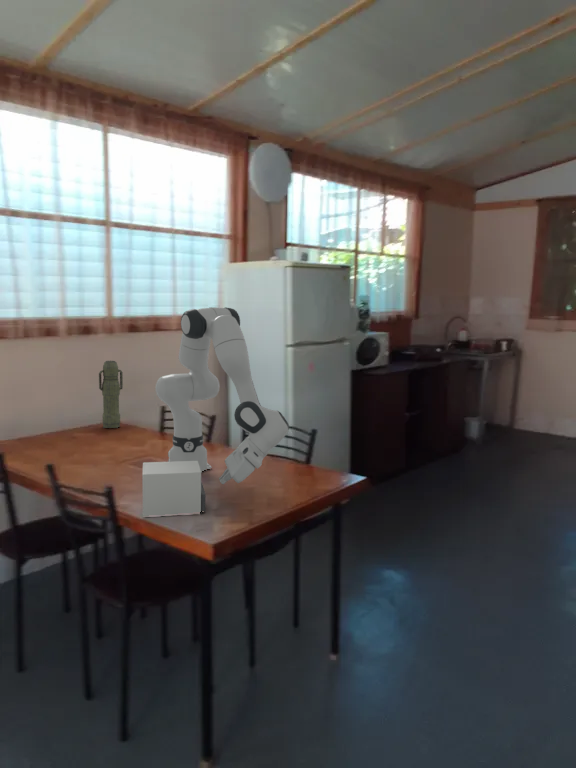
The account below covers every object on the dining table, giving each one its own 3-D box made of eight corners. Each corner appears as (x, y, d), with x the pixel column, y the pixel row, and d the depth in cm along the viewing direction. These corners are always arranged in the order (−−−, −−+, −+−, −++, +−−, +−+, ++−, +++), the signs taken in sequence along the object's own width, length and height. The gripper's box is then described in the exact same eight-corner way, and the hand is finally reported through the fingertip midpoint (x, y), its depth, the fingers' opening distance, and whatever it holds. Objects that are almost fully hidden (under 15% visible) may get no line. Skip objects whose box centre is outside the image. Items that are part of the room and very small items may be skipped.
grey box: (143, 503, 201) (142, 462, 199) (197, 500, 205) (197, 460, 203) (142, 518, 188) (142, 474, 186) (200, 514, 192) (201, 472, 190)
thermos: (97, 426, 317) (96, 360, 312) (119, 424, 324) (118, 359, 319) (103, 430, 310) (101, 362, 305) (125, 427, 317) (124, 361, 312)
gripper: (239, 438, 209) (211, 466, 208) (248, 453, 189) (217, 484, 188) (252, 450, 210) (223, 478, 210) (262, 466, 191) (231, 497, 190)
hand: (220, 481), depth 199 cm, fingers closed
